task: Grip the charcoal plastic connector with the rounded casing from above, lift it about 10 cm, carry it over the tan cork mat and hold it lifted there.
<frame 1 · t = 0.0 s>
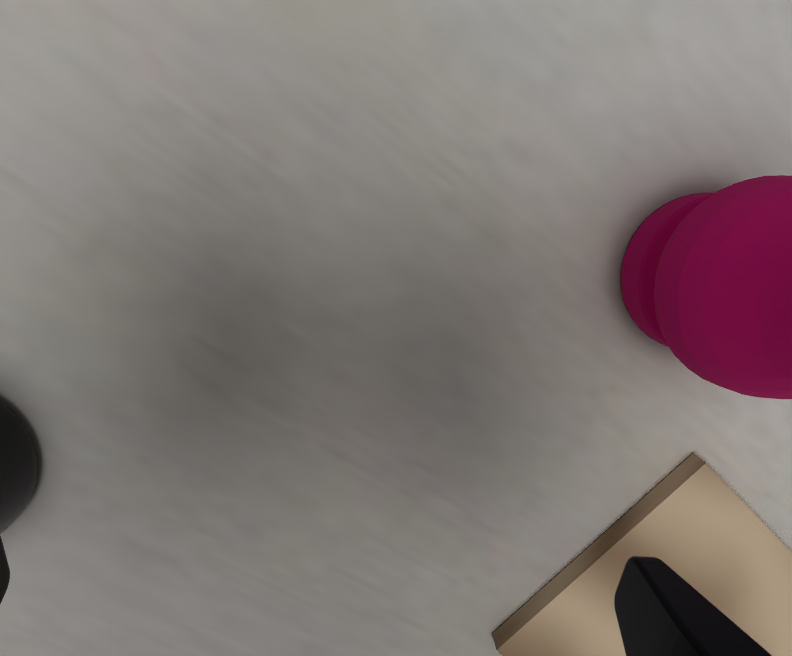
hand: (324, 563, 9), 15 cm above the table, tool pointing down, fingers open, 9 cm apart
cork mat: (688, 638, 28), on the table
pepper mill: (692, 271, 24), on the table
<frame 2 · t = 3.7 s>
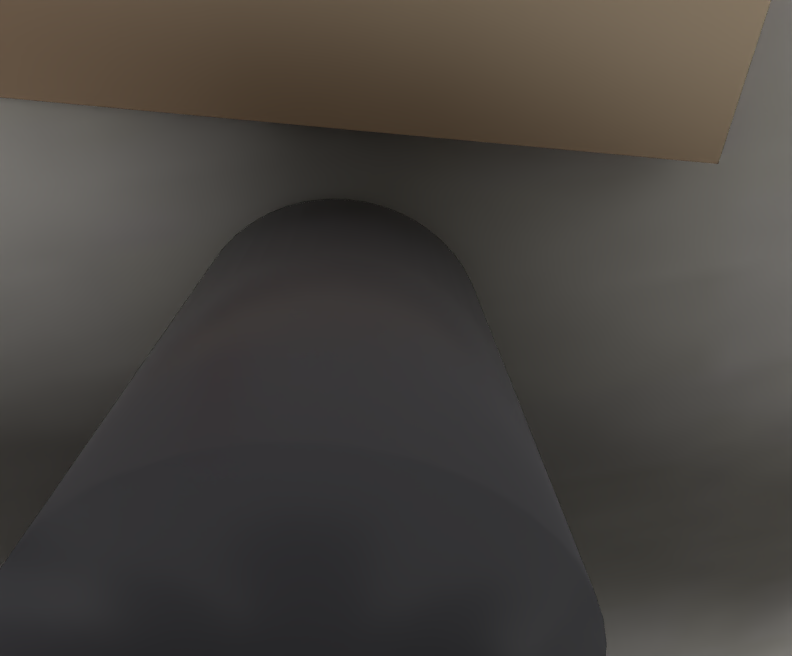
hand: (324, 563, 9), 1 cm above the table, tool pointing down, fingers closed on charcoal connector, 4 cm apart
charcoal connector: (330, 503, 10), on the table, touching gripper
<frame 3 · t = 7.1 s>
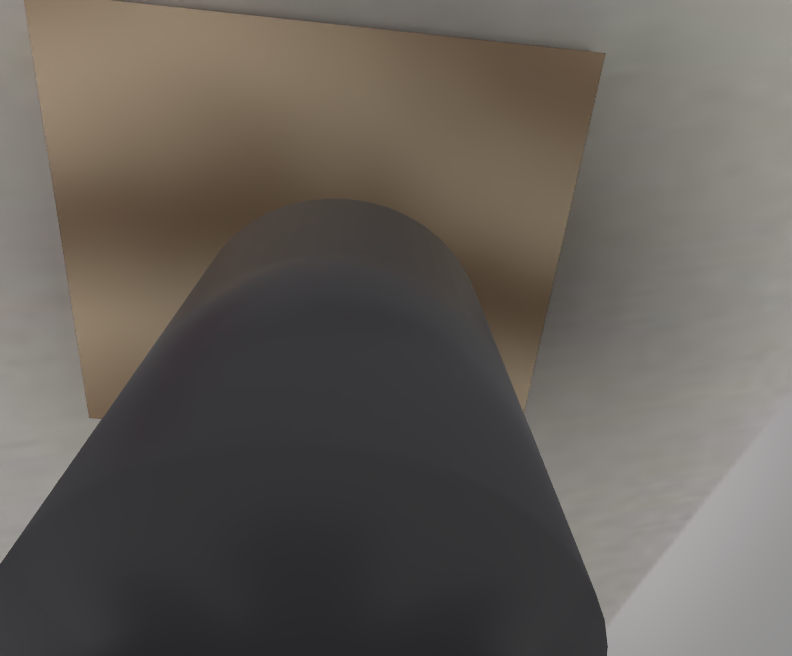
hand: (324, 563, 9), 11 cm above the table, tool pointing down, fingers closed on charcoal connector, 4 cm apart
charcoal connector: (329, 503, 10), point 10 cm above the table, touching gripper
cork mat: (318, 246, 18), on the table
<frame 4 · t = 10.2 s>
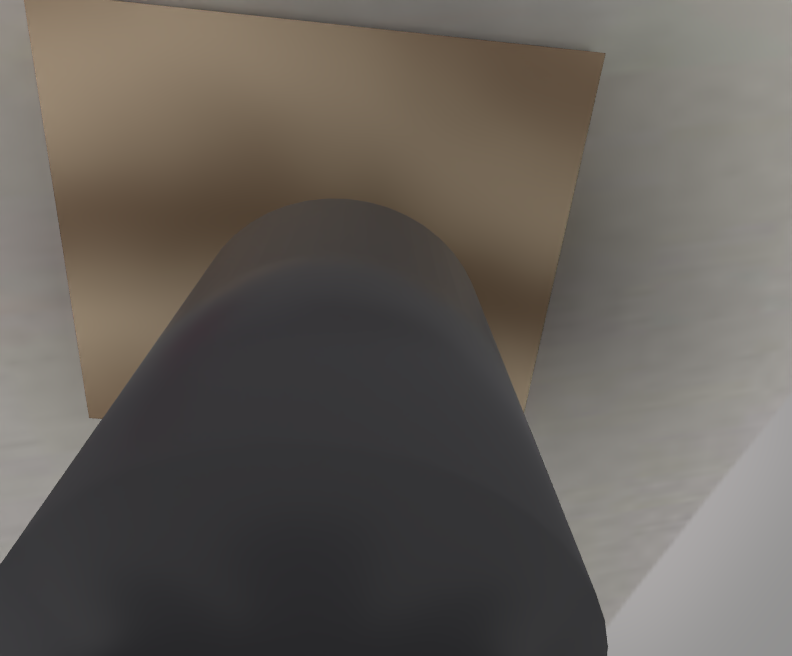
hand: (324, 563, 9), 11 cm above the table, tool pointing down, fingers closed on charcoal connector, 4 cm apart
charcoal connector: (329, 503, 10), point 10 cm above the table, touching gripper
cork mat: (318, 246, 18), on the table
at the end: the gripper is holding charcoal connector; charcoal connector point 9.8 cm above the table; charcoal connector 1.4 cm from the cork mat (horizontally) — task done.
